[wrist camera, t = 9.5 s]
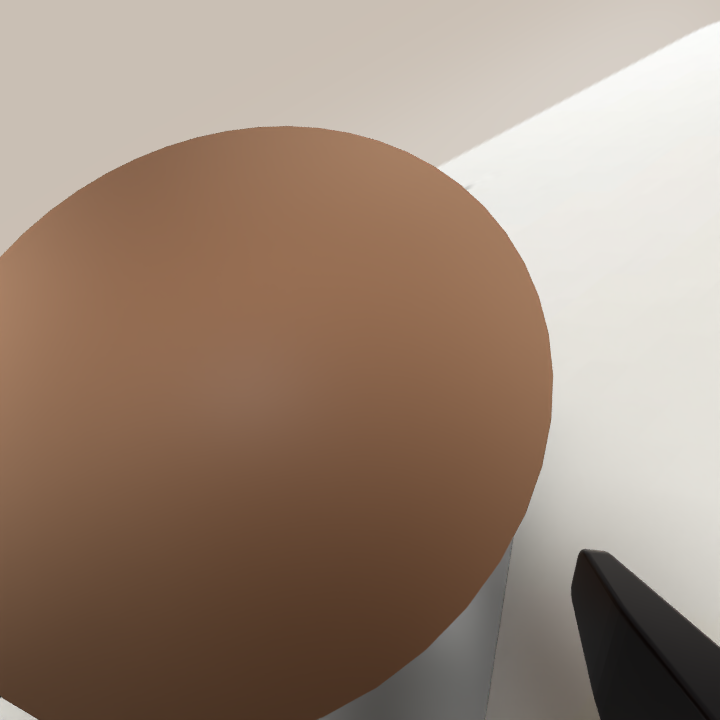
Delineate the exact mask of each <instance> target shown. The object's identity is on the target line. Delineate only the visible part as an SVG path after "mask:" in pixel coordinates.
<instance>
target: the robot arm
mask: <svg viewBox="0 0 720 720" xmlns="http://www.w3.org/2000/svg"><path fill="white" fill-rule="evenodd" d="M571 596H572V603H573V607H574V611H575V616H576V620H577V625H578V629H579V634H580V638H581V643H582V647H583V652H584V656H585V661H586V665H587V670H588V674H589V679H590V683H591V687H592V691H593V695H594V699H595V703H596V706H597V709H598V713H599V716H600V719H601V720H720V647H719V646H718V645H717V644H716V643H714V642H713V641H712V640H711V639H710V638H709V637H707V636H706V635H705V634H704V633H703V632H701V631H700V630H699V629H698V628H697V627H696V626H694V625H693V624H692V623H691V622H690V621H689V620H687V619H686V618H685V617H684V616H683V615H682V614H680V613H679V612H678V611H677V610H676V609H674V608H673V607H672V606H671V605H670V604H669V603H667V602H666V601H665V600H664V599H663V598H662V597H660V596H659V595H658V594H657V593H656V592H655V591H653V590H652V589H651V588H650V587H649V586H647V585H646V584H645V583H644V582H643V581H642V580H640V579H639V578H638V577H637V576H636V575H635V574H633V573H632V572H631V571H630V570H629V569H627V568H626V567H625V566H624V565H623V564H622V563H620V562H619V561H618V560H617V559H616V558H615V557H613V556H612V555H611V554H609V553H608V552H605V551H599V550H590V549H583V550H581V551H580V553H579V555H578V558H577V563H576V567H575V572H574V576H573V581H572V585H571ZM0 698H1V696H0Z"/></svg>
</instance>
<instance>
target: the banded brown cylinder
mask: <svg viewBox="0 0 720 720" xmlns="http://www.w3.org/2000/svg"><path fill="white" fill-rule="evenodd" d="M552 387H553V370H552V361H551V352H550V342H549V334H548V330H547V326H546V322H545V318H544V314H543V311H542V307H541V303H540V299H539V296H538V293H537V291H536V289H535V286H534V284H533V282H532V279H531V277H530V275H529V272H528V270H527V268H526V265H525V263H524V261H523V260H522V258H521V256H520V255H519V253H518V252H517V250H516V248H515V247H514V245H513V243H512V242H511V240H510V239H509V237H508V235H507V234H506V232H505V231H504V230H503V229H502V227H501V226H500V225H499V224H498V223H497V221H496V220H495V219H494V218H493V217H492V215H491V214H490V213H489V212H488V210H487V209H486V208H485V207H484V206H483V205H482V204H481V203H480V202H479V201H478V200H476V199H475V198H474V197H473V196H472V195H471V194H470V193H469V192H468V191H467V190H466V189H464V188H463V187H462V186H461V185H460V184H459V183H457V182H456V181H454V180H453V179H451V178H450V177H449V176H447V175H446V174H444V173H443V172H441V171H440V170H439V169H437V168H436V167H434V166H432V165H431V164H429V163H427V162H425V161H423V160H421V159H419V158H417V157H416V156H414V155H412V154H410V153H408V152H406V151H403V150H401V149H398V148H396V147H393V146H390V145H388V144H385V143H383V142H380V141H377V140H374V139H370V138H366V137H362V136H359V135H355V134H351V133H346V132H340V131H334V130H327V129H321V128H309V127H293V126H280V127H257V128H248V129H240V130H232V131H225V132H220V133H216V134H211V135H206V136H202V137H197V138H194V139H190V140H187V141H184V142H181V143H177V144H174V145H171V146H167V147H164V148H162V149H160V150H157V151H154V152H152V153H149V154H147V155H144V156H142V157H139V158H137V159H135V160H133V161H131V162H129V163H126V164H125V165H122V166H120V167H119V168H116V169H114V170H112V171H110V172H108V173H106V174H105V175H103V176H102V177H100V178H98V179H96V180H95V181H93V182H91V183H90V184H88V185H86V186H85V187H83V188H82V189H80V190H78V191H77V192H75V193H74V194H73V195H71V196H70V197H68V198H67V199H66V200H64V201H63V202H62V203H60V204H59V205H57V206H56V207H54V208H53V209H52V210H50V211H49V212H48V213H47V214H46V215H44V216H43V217H42V218H41V219H40V220H39V221H37V222H36V223H35V224H34V225H33V226H32V227H30V228H29V229H28V230H27V231H26V232H25V233H23V234H22V235H21V236H20V237H19V238H18V240H17V241H16V242H15V243H14V244H13V245H12V246H11V247H10V248H9V249H8V250H7V251H6V252H5V253H4V254H3V255H2V256H1V257H0V696H1V697H2V698H3V699H5V700H7V701H8V702H10V703H12V704H13V705H15V706H17V707H18V708H20V709H22V710H23V711H25V712H27V713H28V714H30V715H32V716H33V717H35V718H37V719H38V720H317V719H319V718H322V717H324V716H326V715H328V714H330V713H332V712H334V711H335V710H337V709H339V708H341V707H343V706H344V705H346V704H348V703H350V702H352V701H353V700H355V699H357V698H359V697H361V696H362V695H364V694H366V693H368V692H370V691H371V690H373V689H375V688H377V687H378V686H380V685H381V684H382V683H384V682H385V681H386V680H387V679H389V678H390V677H391V676H393V675H394V674H395V673H397V672H398V671H399V670H401V669H402V668H403V667H404V666H406V665H407V664H408V663H410V662H411V661H412V660H414V659H415V658H416V657H417V656H419V655H420V654H421V653H423V652H424V651H425V650H426V649H427V648H428V647H429V646H430V645H431V644H432V643H433V642H434V641H435V640H436V639H437V638H438V637H439V636H440V635H441V634H442V633H443V632H444V631H445V630H446V629H447V628H448V627H449V626H450V625H451V624H452V623H453V622H454V621H455V620H456V618H457V617H458V616H459V615H460V614H461V613H462V612H463V611H464V610H465V609H466V608H467V607H468V606H469V604H470V603H471V601H472V600H473V599H474V597H475V596H476V595H477V593H478V592H479V590H480V589H481V588H482V586H483V585H484V583H485V582H486V581H487V579H488V578H489V577H490V575H491V574H492V572H493V571H494V570H495V568H496V567H497V566H498V564H499V563H500V561H501V559H502V557H503V556H504V554H505V552H506V550H507V548H508V546H509V544H510V542H511V540H512V538H513V536H514V535H515V533H516V531H517V529H518V527H519V525H520V523H521V521H522V519H523V517H524V515H525V513H526V511H527V508H528V505H529V502H530V499H531V496H532V493H533V491H534V488H535V485H536V482H537V479H538V476H539V473H540V471H541V468H542V464H543V459H544V454H545V449H546V443H547V438H548V433H549V428H550V423H551V411H552Z"/></svg>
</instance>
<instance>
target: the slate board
mask: <svg viewBox="0 0 720 720" xmlns="http://www.w3.org/2000/svg"><path fill="white" fill-rule="evenodd" d="M513 537H514V536H513ZM512 543H513V538H512V540H511V542H510V544H509V546H508V548H507V550H506V552H505V554H504V556H503V557H502V559H501V561H500V563H499V564H498V566H497V567H496V568H495V570H494V571H493V572H492V574H491V575H490V577H489V578H488V579H487V581H486V582H485V583H484V585H483V586H482V588H481V589H480V590H479V592H478V593H477V595H476V596H475V597H474V599H473V600H472V601H471V603H470V604H469V606H468V607H467V608H466V609H465V610H464V611H463V612H462V613H461V614H460V615H459V616H458V617H457V618H456V620H455V621H454V622H453V623H452V624H451V625H450V626H449V627H448V628H447V629H446V630H445V631H444V632H443V633H442V634H441V635H440V636H439V637H438V638H437V639H436V640H435V641H434V642H433V643H432V644H431V645H430V646H429V647H428V648H427V649H426V650H425V651H424V652H423V653H421V654H420V655H419V656H417V657H416V658H415V659H414V660H412V661H411V662H410V663H408V664H407V665H406V666H404V667H403V668H402V669H401V670H399V671H398V672H397V673H395V674H394V675H393V676H391V677H390V678H389V679H387V680H386V681H385V682H384V683H382V684H381V685H380V686H378V687H377V688H375V689H373V690H371V691H370V692H368V693H366V694H364V695H362V696H361V697H359V698H357V699H355V700H353V701H352V702H350V703H348V704H346V705H344V706H343V707H341V708H339V709H337V710H335V711H334V712H332V713H330V714H328V715H326V716H324V717H322V718H319V719H317V720H485V717H486V710H487V704H488V697H489V691H490V685H491V678H492V672H493V665H494V659H495V652H496V646H497V640H498V633H499V627H500V620H501V614H502V607H503V601H504V594H505V588H506V582H507V575H508V569H509V562H510V556H511V549H512Z"/></svg>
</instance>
